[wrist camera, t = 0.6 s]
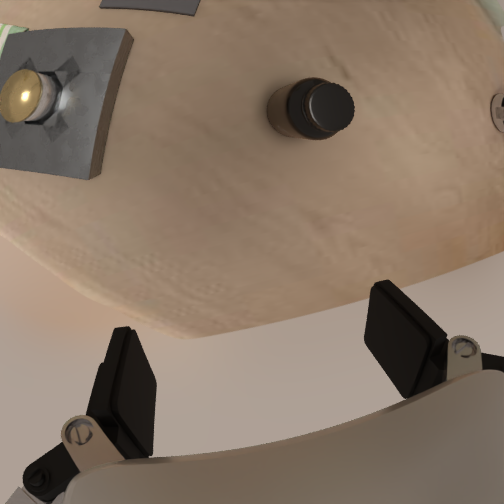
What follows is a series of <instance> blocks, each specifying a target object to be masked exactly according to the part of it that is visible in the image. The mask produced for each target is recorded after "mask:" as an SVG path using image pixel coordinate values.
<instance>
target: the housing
mask: <svg viewBox="0 0 504 504" xmlns="http://www.w3.org/2000/svg"><path fill="white" fill-rule="evenodd" d="M133 41H134V39H133V37H132V36H131V35H130V33H129V32H128V31H127V29H121V28H58V29H44V30H34V31H26V32H18V33H12V34H8V36H7V39H6V42H5V45H4V48H3V51H2V54H1V57H0V94H1V91H2V88H3V86H4V84H5V83H6V81H7V80H8V79H9V77H10V76H11V75H13V74H14V73H15V72H17V71H19V70H23V69H28V70H32V71H35V72H36V73H40V74H43V75H47V76H50V77H54V78H57V79H59V81H60V82H61V84H62V86H63V91H62V96H61V100H60V104H59V109H58V110H57V111H56V112H55V113H54V114H53V115H52V116H51V117H50V118H49V119H48V120H38V121H22V122H9V121H7V120H5V119H4V118H3V116H2V115H1V112H0V168H7V169H15V170H23V171H30V172H38V173H45V174H52V175H59V176H66V177H72V178H79V179H85V180H90V179H92V178H93V177H95V176H97V175H99V174H100V173H101V167H102V161H103V155H104V149H105V144H106V139H107V134H108V129H109V125H110V120H111V116H112V112H113V108H114V103H115V100H116V96H117V92H118V88H119V85H120V81H121V78H122V74H123V71H124V68H125V64H126V61H127V58H128V55H129V52H130V49H131V46H132V43H133Z"/></svg>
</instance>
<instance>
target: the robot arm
mask: <svg viewBox="0 0 504 504" xmlns="http://www.w3.org/2000/svg"><path fill="white" fill-rule="evenodd" d="M446 337H447V334H446V333H445V332H444V331H443V330H442V329H441V328H440V327H439V326H438V325H437V324H436V323H435V322H434V321H433V320H432V319H431V318H430V317H429V316H428V315H427V314H426V313H425V312H424V311H423V310H422V309H420V308H419V307H418V306H417V305H416V304H415V303H414V302H413V301H412V300H411V299H410V298H409V297H407V296H406V295H405V294H404V293H403V292H402V291H401V290H400V289H399V288H398V287H397V286H395V285H394V284H393V283H392V282H391V281H390V280H383V281H379V282H376V283H375V284H374V286H373V287H372V288H371V291H370V299H369V307H368V314H367V321H366V328H365V334H364V341H365V344H366V346H367V347H368V349H369V350H370V351H371V353H372V354H373V356H374V357H375V358H376V360H377V361H378V363H379V364H380V365H381V367H382V368H383V370H384V371H385V372H386V374H387V375H388V377H389V378H390V380H391V381H392V382H393V384H394V385H395V387H396V388H397V390H398V391H399V393H400V394H401V396H402V397H403V398H405V399H406V398H407V399H406V400H403V401H401V402H399V403H397V404H394V405H392V406H389V407H387V408H384V409H382V410H379V411H376V412H374V413H372V414H369V415H366V416H363V417H360V418H357V419H354V420H351V421H349V422H345V423H342V424H339V425H336V426H333V427H330V428H326V429H323V430H320V431H316V432H312V433H309V434H305V435H301V436H297V437H293V438H289V439H285V440H280V441H276V442H271V443H266V444H261V445H257V446H251V447H245V448H239V449H233V450H226V451H219V452H212V453H203V454H194V455H184V456H171V457H154V458H149V456H152V455H153V439H154V438H153V437H154V417H155V402H156V387H157V383H156V379H155V376H154V374H153V371H152V369H151V367H150V365H149V362H148V360H147V358H146V355H145V353H144V350H143V348H142V345H141V343H140V341H139V338H138V335H137V333H136V331H135V330H131V328H130V327H129V326H128V327H127V326H126V327H118V328H115V329H114V331H113V334H112V337H111V340H110V343H109V346H108V350H107V353H106V357H105V359H104V362H103V363H101V364H100V366H99V368H98V372H97V375H96V379H95V382H94V386H93V389H92V393H91V396H90V400H89V404H88V408H87V412H86V415H79V416H75V417H73V418H71V419H69V420H68V421H67V422H66V423H65V424H64V426H63V428H62V431H61V438H62V441H63V442H61V443H60V444H59V445H57V446H56V447H54V448H53V449H52V450H50V451H49V452H47V453H46V454H45V455H43V456H42V457H40V458H39V459H37V460H36V461H34V462H33V463H31V464H30V465H29V466H28V467H27V468H26V469H25V471H24V474H23V484H24V486H23V487H22V489H21V488H20V487H18V488H17V489H16V491H15V492H14V493H13V494H12V496H11V497H10V498H9V499H8V501H7V502H6V503H5V504H504V357H502V356H497V355H491V354H486V353H481V349H480V346H479V345H478V343H477V342H476V341H475V340H474V339H472V338H470V337H468V336H462V335H461V336H460V335H459V336H455V337H453V338H451V339H450V341H449V340H448V339H447V338H446Z"/></svg>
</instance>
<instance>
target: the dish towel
mask: <svg viewBox="0 0 504 504" xmlns="http://www.w3.org/2000/svg"><path fill="white" fill-rule="evenodd" d="M28 30H29V29H28V28H24V27H18V26H13V25H7V24H0V57H1V54H2V51H3V48H4V45H5V42H6V39H7V36H8V34H12V33H18V32H26V31H28Z"/></svg>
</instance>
